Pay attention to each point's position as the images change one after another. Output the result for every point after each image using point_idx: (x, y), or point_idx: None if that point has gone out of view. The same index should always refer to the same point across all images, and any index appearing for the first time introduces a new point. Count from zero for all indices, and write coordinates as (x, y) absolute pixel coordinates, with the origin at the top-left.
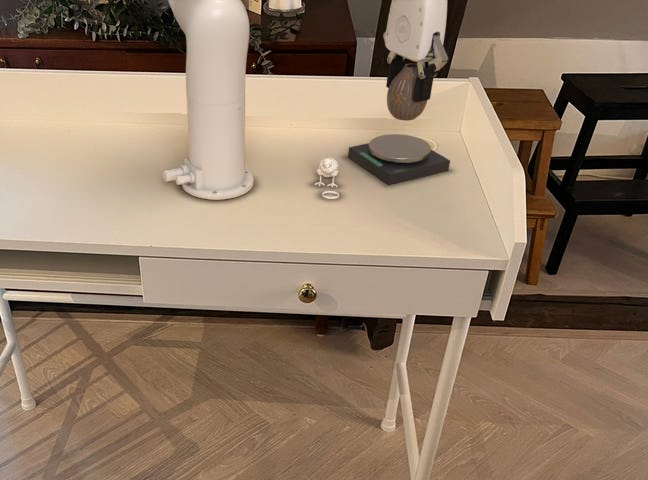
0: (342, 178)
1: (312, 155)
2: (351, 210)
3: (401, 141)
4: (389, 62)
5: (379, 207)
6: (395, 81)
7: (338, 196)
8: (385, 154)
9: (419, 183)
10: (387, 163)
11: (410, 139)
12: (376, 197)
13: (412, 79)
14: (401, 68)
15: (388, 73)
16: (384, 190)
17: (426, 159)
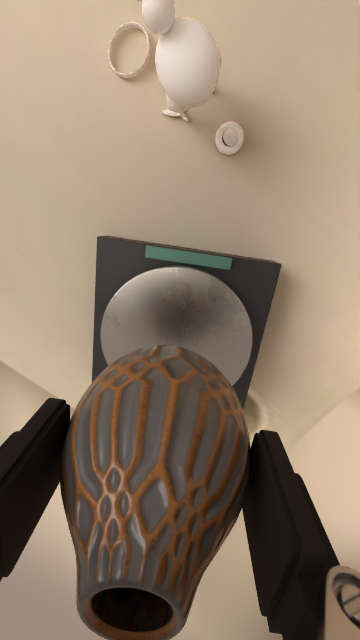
0: (194, 164)
1: (347, 192)
2: (36, 47)
3: None
4: (345, 578)
5: (23, 131)
6: (174, 438)
7: (111, 66)
8: (154, 278)
9: (82, 299)
10: None
11: None
12: (69, 165)
13: (78, 497)
14: (262, 569)
15: (294, 490)
16: (90, 209)
17: None
